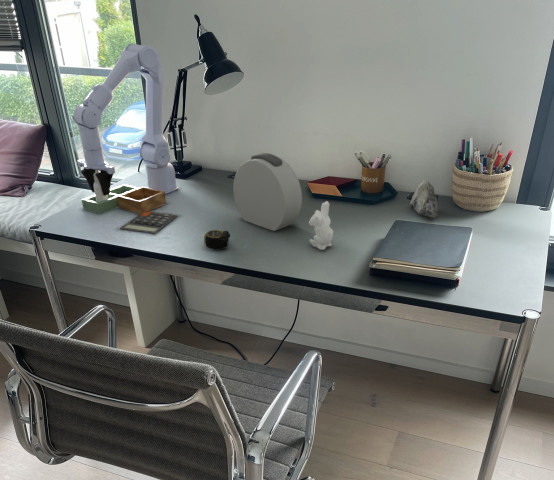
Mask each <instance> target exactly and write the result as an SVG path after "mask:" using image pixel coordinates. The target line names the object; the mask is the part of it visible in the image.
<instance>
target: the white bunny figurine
mask: <svg viewBox="0 0 554 480" xmlns="http://www.w3.org/2000/svg"><path fill="white" fill-rule="evenodd" d="M329 211H330V203H329V201H328V200H326V201H325V202H322V203H321V206H320V210H319V209H316V210H314V214H313V215H311V217H310V219H309V221H308V225H309V226H310V227H313V232H315V235H313V239H311V238H310V239H309V243H310V244H311V245H312V247H313V248H317V249H318V250H320V251H324V250H326V248H329V247H332V246H333V244H332V243H331V242H332V240H333V238H334V230H333V229H332V228H331V227H330V225H331V223H332V221H331V217H330V216H329V213H330V212H329Z"/></svg>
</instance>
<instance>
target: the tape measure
mask: <svg viewBox="0 0 554 480" xmlns="http://www.w3.org/2000/svg"><path fill="white" fill-rule="evenodd" d="M230 238H231V233H230V232H229V230H221V229H213V230H208V231H207V232H206V233H204V236H203V241H204V245H205V247H207V248H209V249H211V250H220V249H221V250H222V249H226V248H228V246H229V240H230Z"/></svg>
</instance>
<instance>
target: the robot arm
mask: <svg viewBox="0 0 554 480" xmlns="http://www.w3.org/2000/svg"><path fill="white" fill-rule="evenodd" d="M160 60H161V55H160V54H159V52H158V51H157V50H156V49H155V48H154V47H153V46H152V45H144V44H143V45H142V44H136V43H131V42H130V43H129V44H127V45H126V46H125V48H124V49H123V50H122V51H121V52H120V55H119V58H118V60H116V63H115V64H114V66H113V68H112V69H111V70H110V72H109V74H108V75H107V76H106V78H105V79H104V81H103V83H97V84H95V85H92V87H91V91H90V92H89V94H88V95H87V96H86V98H85V99H83V100H82V101H81V102H82V104H79V105H77V106H75V108H74V110H73V115H72V116H71V117H72V120H73V122H74V123H75V124H76V125H77V127H78V132H79V137H80V142H81V147H82V153H83V158H84V159H83V158H80V159H78V160H76V161H77V167H78V168H83V169H81V170H80V173H81V175H82V176H83V177H84V179H85V180H86V182H87V184H88V186H89V188H90V190H91V192H92V193H94V194H95V192H94V182H95V180H94V175H93V174H94V173H95V170H98V171H99V173H96V174H95V175H96V177H97V178H98V180H99V183H100V185H101V189H102V192H103V195H108V194H110V189H111V183H112V180H113V176H114V174H115V173H116V168H115V166H114V165H111V164H109V163H107V162H106V160H105V155H104V149H103V145H102V139H101V134H100V128H99V126H100V124H101V122H102V115H103V114H104V112H105V111H106V110H107V108H108V107H109V105H110V104H111V103H112V101H113V100H114V92H115V90H116V89H117V88H119V86H120V84H121V83H122V82H123V81H124V80H125V79H126V78H127V76H128V75H129V74H130V73H137V72H138V73H139V74H140V75H141V77H143V78H144V79H145V134H143V136H142V137H141V144H140V147H139V152H138V154H139V157H140V158H141V160H143V164H144V167H145V173H146V181H147V188H152V189H156V190H160V191H164V192H165V195H168V194H170V193H171V192H174V191H176V190H179V187H178V186H177V181H176V180H177V179H176V171H175V168H174V166H173V164H172V163H171V162H170V160H171V151H170V150H169V141H168V140H167V139H166V138H165V136H164V102H165V100H164V99H165V96H164V94H165V74H164V71H163V68H162V64H161V61H160Z"/></svg>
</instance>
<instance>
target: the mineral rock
mask: <svg viewBox="0 0 554 480" xmlns="http://www.w3.org/2000/svg"><path fill="white" fill-rule="evenodd" d="M438 202H439V201H438V199H437V196H436V194H435V188H434V185H432V184H431V183H430V181H429V180H425V179H424V180H422V182H421V183H419V185H418V187H417V188H416V190H415V191H414V193H413V195H412V196H411V200H410V203H409V206H410V207H411V208H413V210H414V211H415V212H417V214H418V215H419V216H424V217H427V218H430V219H435V218H436V217H438V213H439V212H438V208H439V203H438Z"/></svg>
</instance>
